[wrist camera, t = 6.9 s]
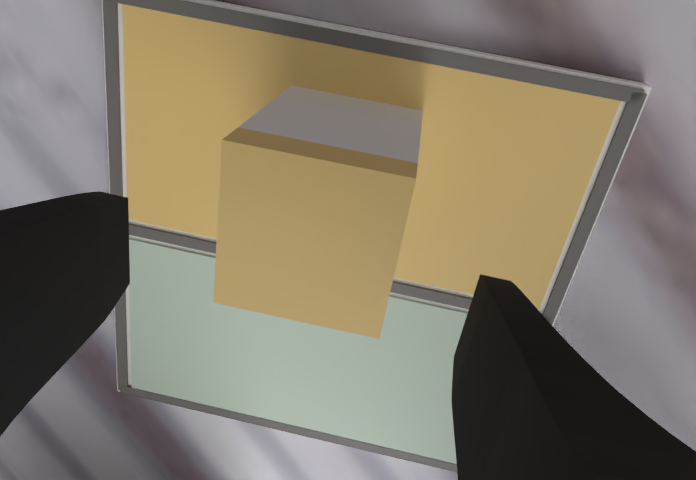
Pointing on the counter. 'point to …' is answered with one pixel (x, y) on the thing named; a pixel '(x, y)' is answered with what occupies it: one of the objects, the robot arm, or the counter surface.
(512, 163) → the yellow and green board
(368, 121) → the yellow-capped white block
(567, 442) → the robot arm
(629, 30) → the counter surface
